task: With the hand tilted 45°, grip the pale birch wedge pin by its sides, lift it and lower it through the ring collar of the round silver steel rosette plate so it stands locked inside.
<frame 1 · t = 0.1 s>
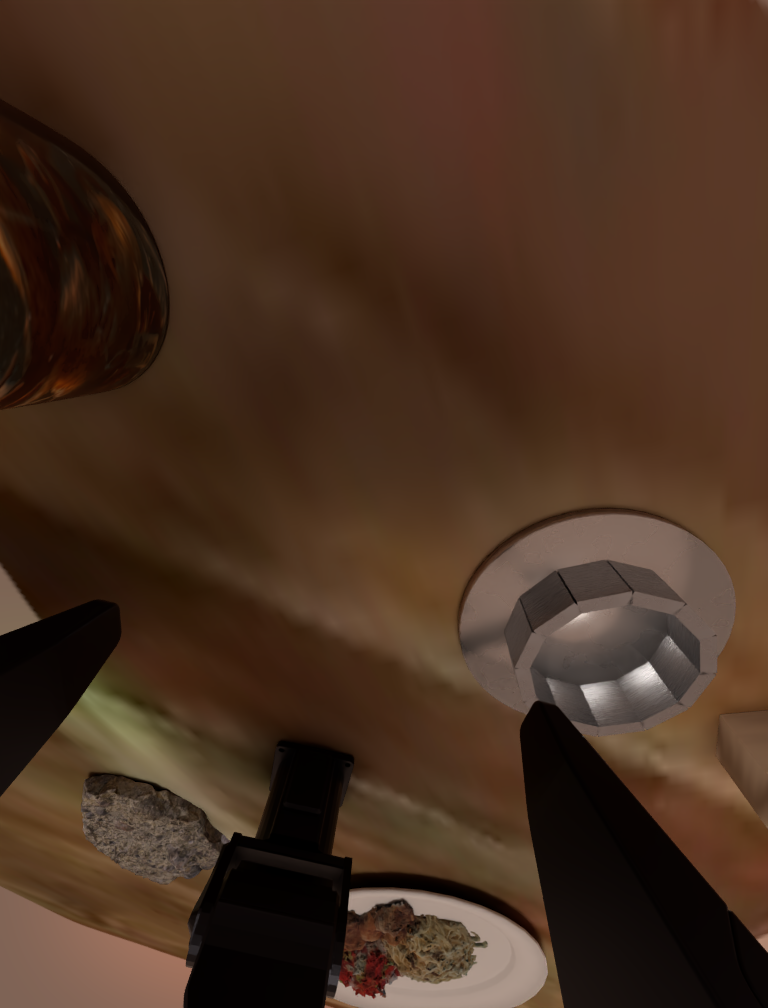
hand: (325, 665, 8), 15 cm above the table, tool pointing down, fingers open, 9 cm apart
wedge pin: (752, 732, 27), on the table
plated food: (407, 937, 44), on the table
jar: (56, 273, 19), on the table
steel rosette: (584, 621, 25), on the table
stone slab: (150, 815, 39), on the table
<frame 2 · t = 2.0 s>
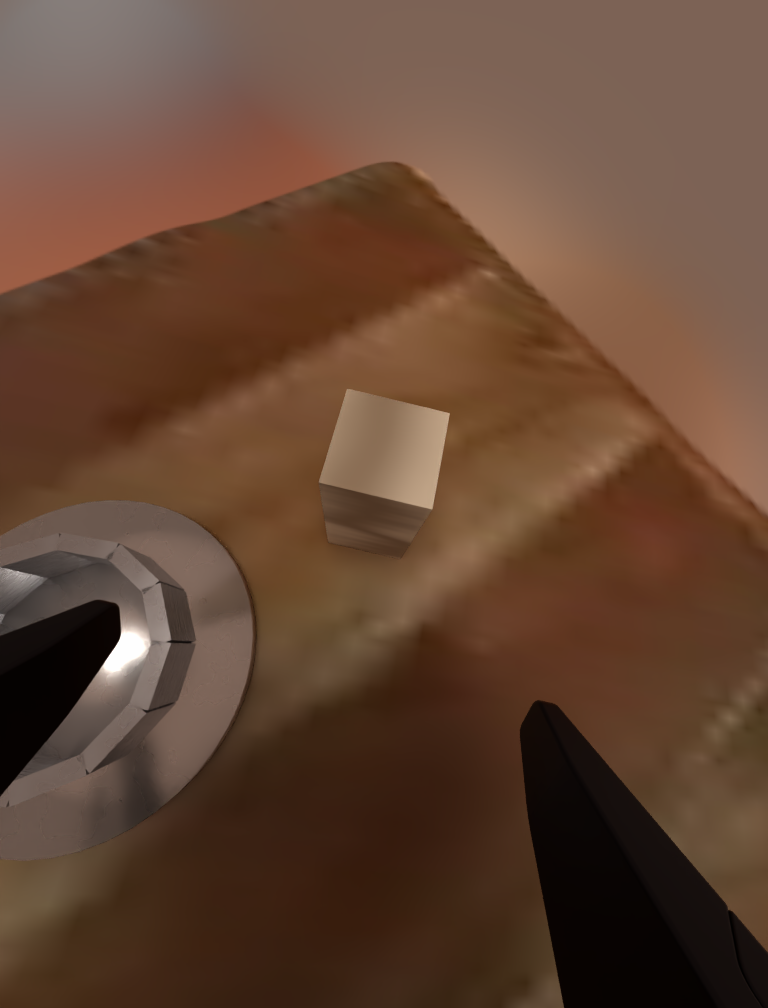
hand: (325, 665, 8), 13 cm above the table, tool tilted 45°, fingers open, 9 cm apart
wedge pin: (372, 516, 24), on the table
steel rosette: (95, 653, 20), on the table
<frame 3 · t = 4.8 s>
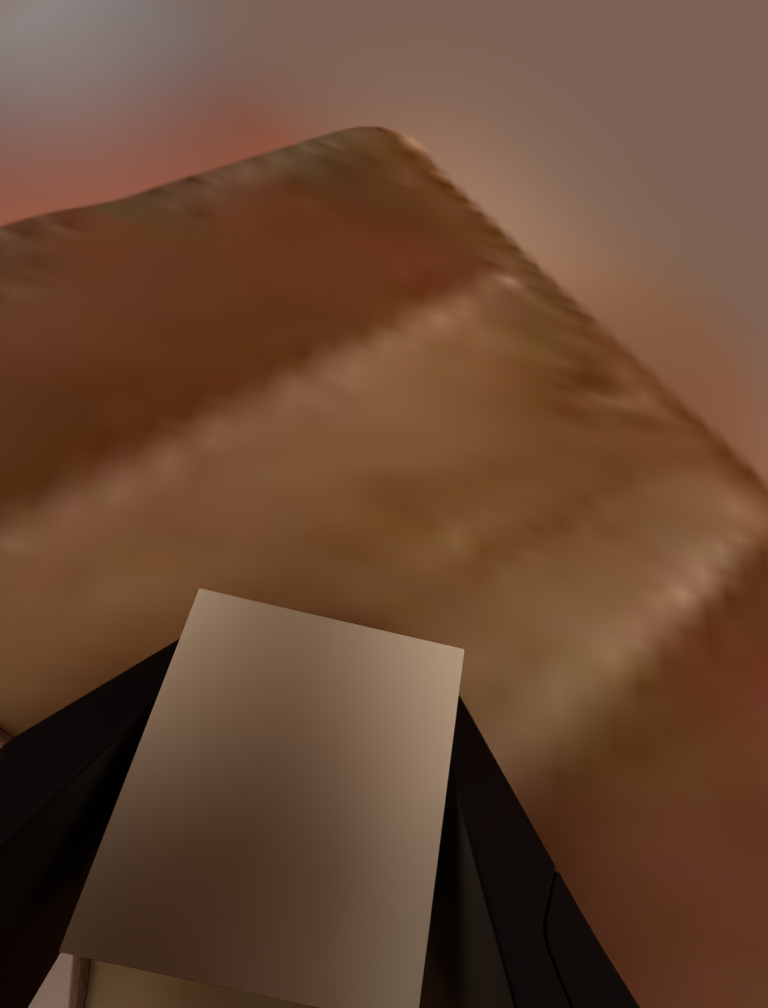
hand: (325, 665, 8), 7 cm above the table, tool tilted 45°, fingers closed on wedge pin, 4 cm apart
wedge pin: (323, 698, 14), on the table, touching gripper
when the fingers open (9 cm above the table, at t = 9.8 s): wedge pin drops 1 cm, resting on steel rosette.
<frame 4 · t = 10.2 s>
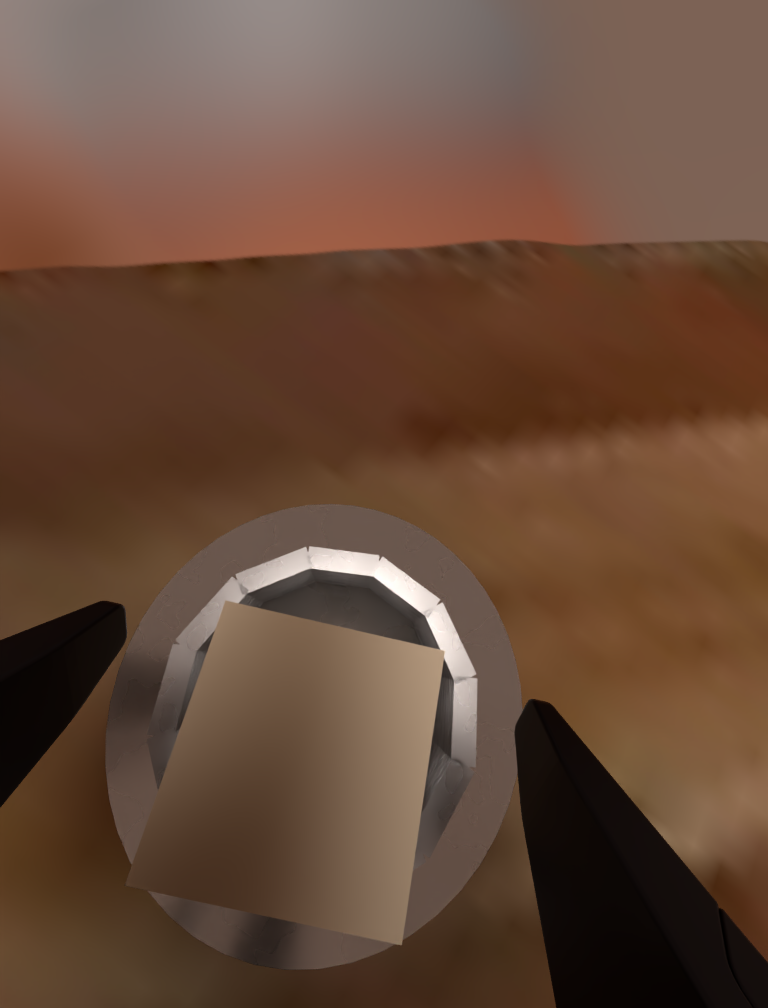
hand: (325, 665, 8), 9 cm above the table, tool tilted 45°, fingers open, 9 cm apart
wedge pin: (326, 691, 15), point 1 cm above the table, touching steel rosette
steel rosette: (327, 691, 16), on the table
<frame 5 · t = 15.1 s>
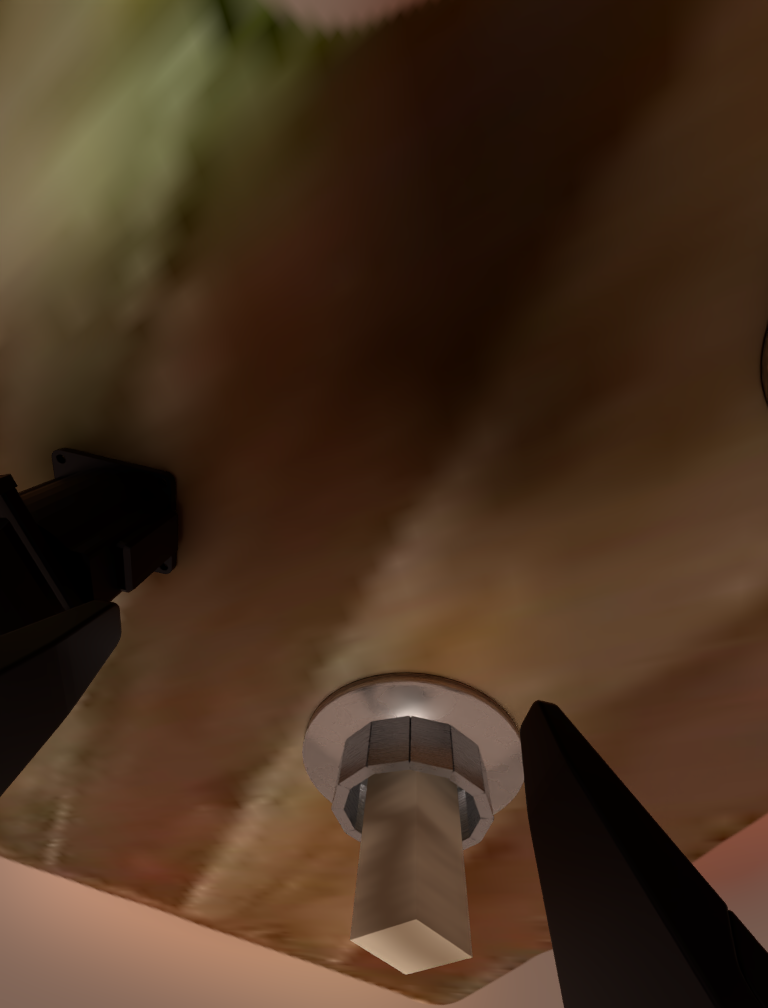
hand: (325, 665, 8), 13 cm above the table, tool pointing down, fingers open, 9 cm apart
wedge pin: (412, 767, 28), point 1 cm above the table, touching steel rosette
steel rosette: (411, 753, 29), on the table
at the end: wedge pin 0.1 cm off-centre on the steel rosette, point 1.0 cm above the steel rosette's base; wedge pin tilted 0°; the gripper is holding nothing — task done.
